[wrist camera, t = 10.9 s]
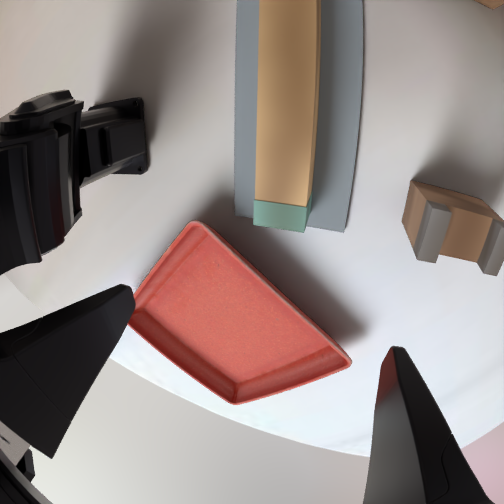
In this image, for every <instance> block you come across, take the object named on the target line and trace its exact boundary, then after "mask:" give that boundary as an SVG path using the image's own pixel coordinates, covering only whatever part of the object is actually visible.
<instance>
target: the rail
mask: <svg viewBox="0 0 504 504" xmlns="http://www.w3.org/2000/svg"><path fill="white" fill-rule="evenodd" d="M320 56H321V0H259V45H258V91H257V135H256V178H255V199H254V217H253V225H258V226H264V227H271V228H277V229H283V230H289V231H296V232H302V233H304V231H305V228H306V225H307V222H308V219H309V216H310V211H311V202H312V192H313V191H312V184H313V174H314V162H315V150H316V137H317V123H318V106H319V86H320Z"/></svg>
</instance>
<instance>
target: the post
mask: <svg viewBox="0 0 504 504" xmlns="http://www.w3.org/2000/svg"><path fill="white" fill-rule="evenodd" d="M402 223H403V225H404V228H405V230H406V233H407V235H408V238H409V240H410V243H411V245H412V248H413V250H414V253H415V256H416V259H417V260H421V261H426V262H431V263H436V261H437V258H438V255H439V254H440V255H445V256H449V257H454V258H459V259H463V260H468V261H472V262H476V263H477V264H478V265H479V267H480V269H481V270H482V272H483V273H484V274H489V275H493V276H497V275H498V272H499V270H500V268H501V266H502V263H503V261H504V220H503V219H502V218H501V217H500V216H499V215H498V214H497V213H496V212H494V211H493V210H492V209H491V208H490V207H489V206H488V205H487V204H486V203H485V202H483V201H482V200H481V199H478V198H475V197H471V196H468V195H465V194H461V193H458V192H455V191H451V190H448V189H444V188H440V187H436V186H433V185H429V184H425V183H421V182H417V181H412V180H411V181H410V186H409V191H408V196H407V200H406V205H405V209H404V213H403V218H402Z"/></svg>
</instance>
